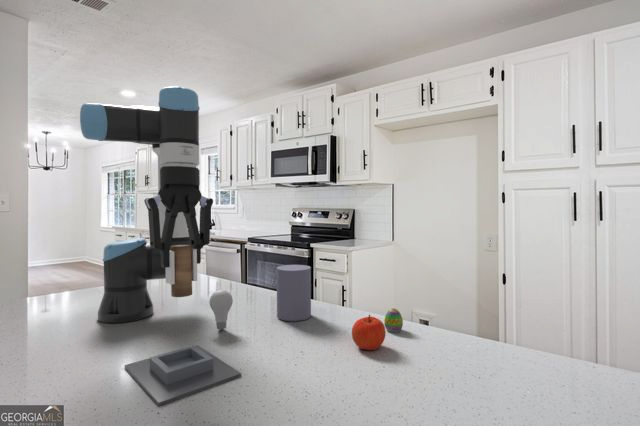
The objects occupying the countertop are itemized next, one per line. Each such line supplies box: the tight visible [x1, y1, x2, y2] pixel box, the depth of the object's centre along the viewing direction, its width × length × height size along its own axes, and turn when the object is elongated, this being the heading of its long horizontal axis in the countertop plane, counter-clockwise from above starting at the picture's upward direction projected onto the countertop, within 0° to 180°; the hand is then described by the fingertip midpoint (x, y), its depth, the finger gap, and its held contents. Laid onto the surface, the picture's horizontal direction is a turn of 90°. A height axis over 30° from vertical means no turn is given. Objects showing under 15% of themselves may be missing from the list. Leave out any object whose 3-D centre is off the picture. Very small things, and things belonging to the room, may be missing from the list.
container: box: [276, 264, 312, 322], centre depth 113 cm, size 10×10×15 cm
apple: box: [351, 314, 386, 351], centre depth 89 cm, size 8×8×8 cm
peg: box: [170, 245, 193, 298], centre depth 76 cm, size 4×4×10 cm
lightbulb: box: [208, 289, 234, 331], centre depth 101 cm, size 6×6×11 cm
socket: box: [124, 345, 242, 407], centre depth 76 cm, size 20×16×3 cm
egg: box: [383, 308, 404, 333], centre depth 100 cm, size 5×5×6 cm
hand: (181, 281), depth 76 cm, fingers closed on peg, 4 cm apart
